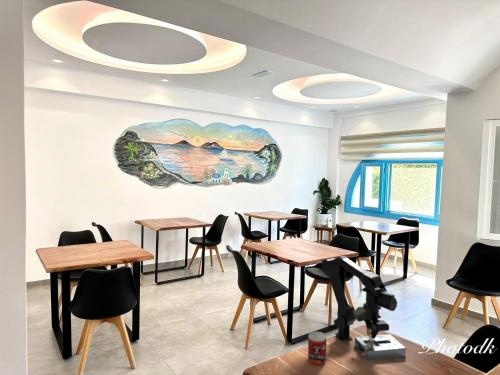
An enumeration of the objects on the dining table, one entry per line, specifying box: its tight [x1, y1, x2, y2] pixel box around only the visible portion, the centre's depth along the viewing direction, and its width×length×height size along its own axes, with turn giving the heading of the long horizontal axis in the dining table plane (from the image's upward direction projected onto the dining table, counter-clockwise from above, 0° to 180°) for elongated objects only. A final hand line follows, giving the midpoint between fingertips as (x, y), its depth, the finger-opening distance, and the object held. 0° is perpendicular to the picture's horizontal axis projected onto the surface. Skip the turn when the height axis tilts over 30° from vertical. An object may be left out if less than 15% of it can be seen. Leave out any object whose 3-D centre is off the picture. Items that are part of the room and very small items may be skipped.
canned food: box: [307, 331, 327, 366], centre depth 141 cm, size 8×8×11 cm
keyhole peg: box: [366, 327, 376, 347], centre depth 148 cm, size 4×4×8 cm
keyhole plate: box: [354, 334, 407, 361], centre depth 148 cm, size 12×18×4 cm, turn 98°
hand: (371, 336), depth 147 cm, fingers closed on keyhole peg, 3 cm apart
